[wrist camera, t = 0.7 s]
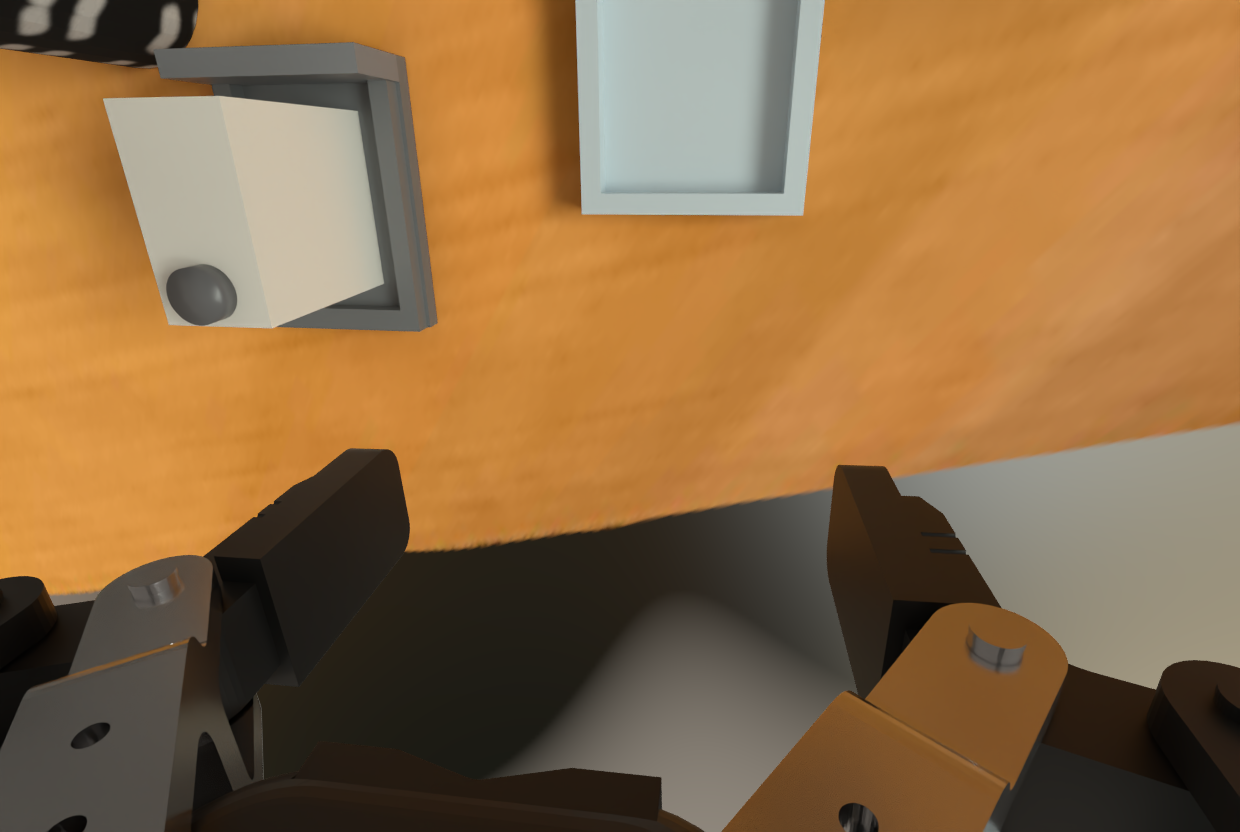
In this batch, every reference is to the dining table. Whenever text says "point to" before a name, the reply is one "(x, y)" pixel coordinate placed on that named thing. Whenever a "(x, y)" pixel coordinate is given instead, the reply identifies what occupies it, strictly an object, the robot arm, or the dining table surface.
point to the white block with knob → (248, 206)
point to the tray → (696, 105)
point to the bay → (389, 151)
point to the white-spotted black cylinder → (98, 28)
